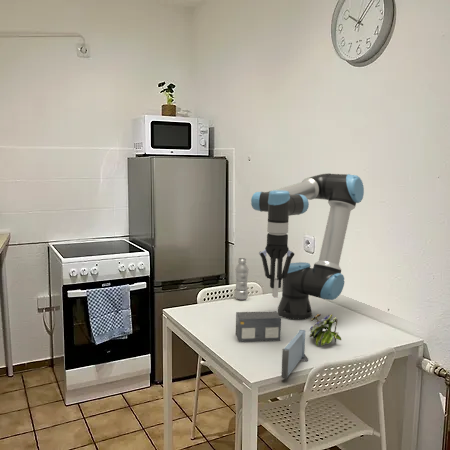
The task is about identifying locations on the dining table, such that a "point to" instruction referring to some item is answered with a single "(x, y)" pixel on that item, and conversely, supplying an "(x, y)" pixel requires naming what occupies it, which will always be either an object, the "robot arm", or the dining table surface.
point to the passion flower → (328, 334)
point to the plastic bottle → (241, 280)
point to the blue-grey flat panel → (293, 353)
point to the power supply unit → (258, 326)
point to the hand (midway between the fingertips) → (275, 296)
